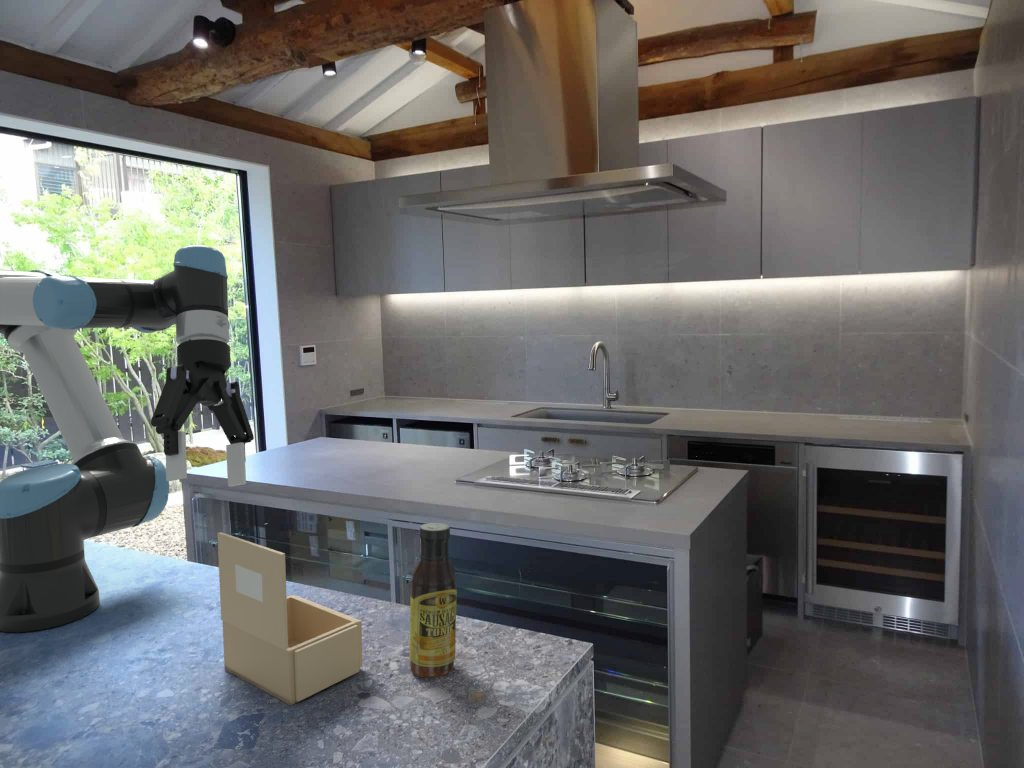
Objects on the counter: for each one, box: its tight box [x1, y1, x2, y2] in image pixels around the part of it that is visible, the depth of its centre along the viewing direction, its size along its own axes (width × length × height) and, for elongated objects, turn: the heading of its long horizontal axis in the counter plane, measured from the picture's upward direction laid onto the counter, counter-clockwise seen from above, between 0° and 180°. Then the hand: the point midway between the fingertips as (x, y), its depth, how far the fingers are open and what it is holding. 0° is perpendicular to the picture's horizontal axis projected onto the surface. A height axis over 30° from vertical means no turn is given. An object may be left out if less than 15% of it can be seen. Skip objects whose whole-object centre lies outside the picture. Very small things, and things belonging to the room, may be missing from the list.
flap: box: [216, 531, 288, 650], centre depth 92 cm, size 14×1×12 cm, turn 52°
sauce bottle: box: [408, 522, 458, 679], centre depth 97 cm, size 7×6×20 cm
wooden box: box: [222, 594, 363, 707], centre depth 98 cm, size 16×12×7 cm
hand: (208, 482), depth 106 cm, fingers open, 13 cm apart
